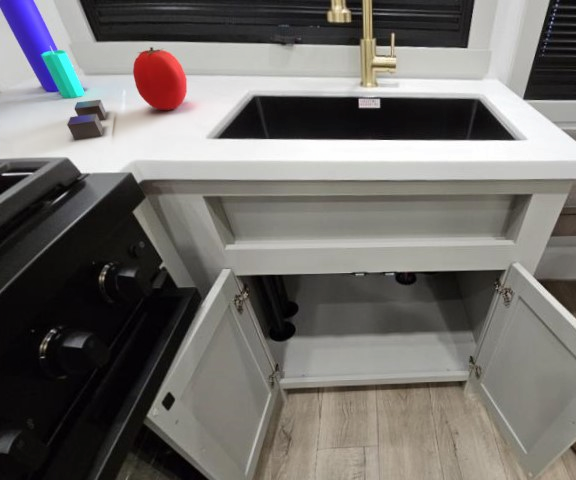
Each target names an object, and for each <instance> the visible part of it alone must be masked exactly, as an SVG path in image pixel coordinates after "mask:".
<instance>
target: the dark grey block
mask: <svg viewBox="0 0 576 480" xmlns="http://www.w3.org/2000/svg"><path fill="white" fill-rule="evenodd" d="M66 126H67V128H68V130H69V131H70V133H71V135H72V137H73V139H74V141H79V140H85V139H93V138H100V137H102V136H103V133H104V127H103V124H102V122H101V120H99V118H98V115H97V114H90V115H82V116H78V115H76V116H75V115H74V116H70V117H69V120H68V122H67V123H66Z"/></svg>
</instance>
